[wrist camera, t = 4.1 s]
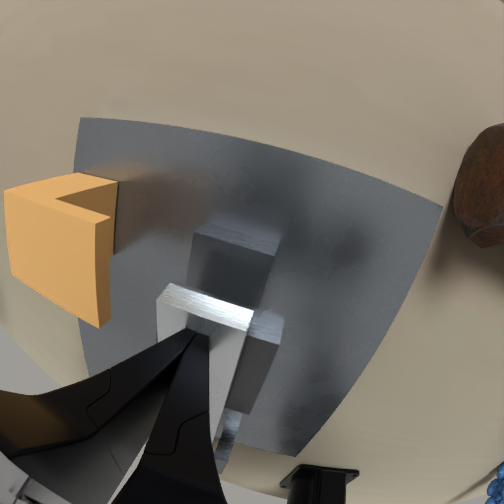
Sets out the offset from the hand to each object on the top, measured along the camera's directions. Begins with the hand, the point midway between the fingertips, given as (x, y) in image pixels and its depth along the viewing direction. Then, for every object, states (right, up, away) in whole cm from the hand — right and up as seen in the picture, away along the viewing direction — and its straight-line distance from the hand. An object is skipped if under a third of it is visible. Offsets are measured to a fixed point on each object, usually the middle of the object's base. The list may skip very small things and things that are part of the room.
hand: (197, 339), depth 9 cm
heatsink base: (-1, -1, +7) cm, 7 cm away
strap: (-1, -4, +4) cm, 6 cm away
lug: (-5, +5, +4) cm, 8 cm away
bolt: (+19, +4, +1) cm, 19 cm away
